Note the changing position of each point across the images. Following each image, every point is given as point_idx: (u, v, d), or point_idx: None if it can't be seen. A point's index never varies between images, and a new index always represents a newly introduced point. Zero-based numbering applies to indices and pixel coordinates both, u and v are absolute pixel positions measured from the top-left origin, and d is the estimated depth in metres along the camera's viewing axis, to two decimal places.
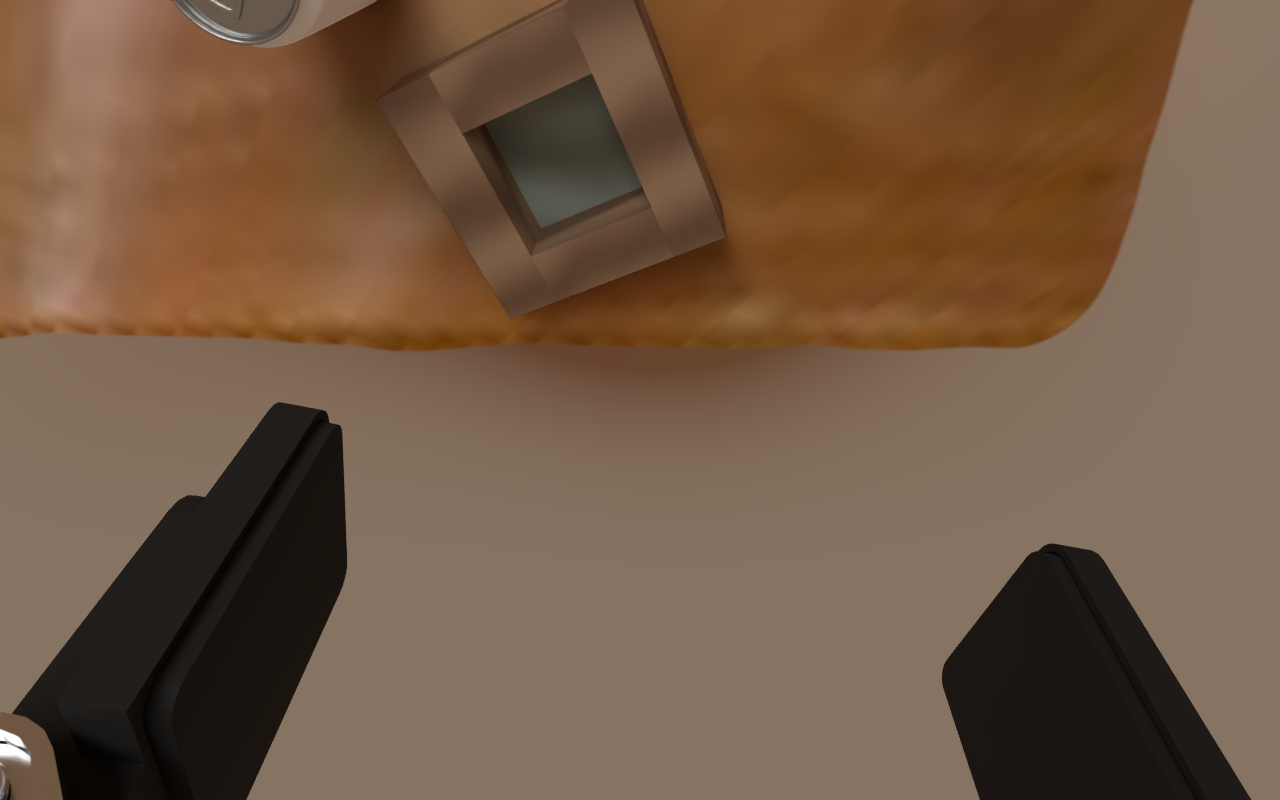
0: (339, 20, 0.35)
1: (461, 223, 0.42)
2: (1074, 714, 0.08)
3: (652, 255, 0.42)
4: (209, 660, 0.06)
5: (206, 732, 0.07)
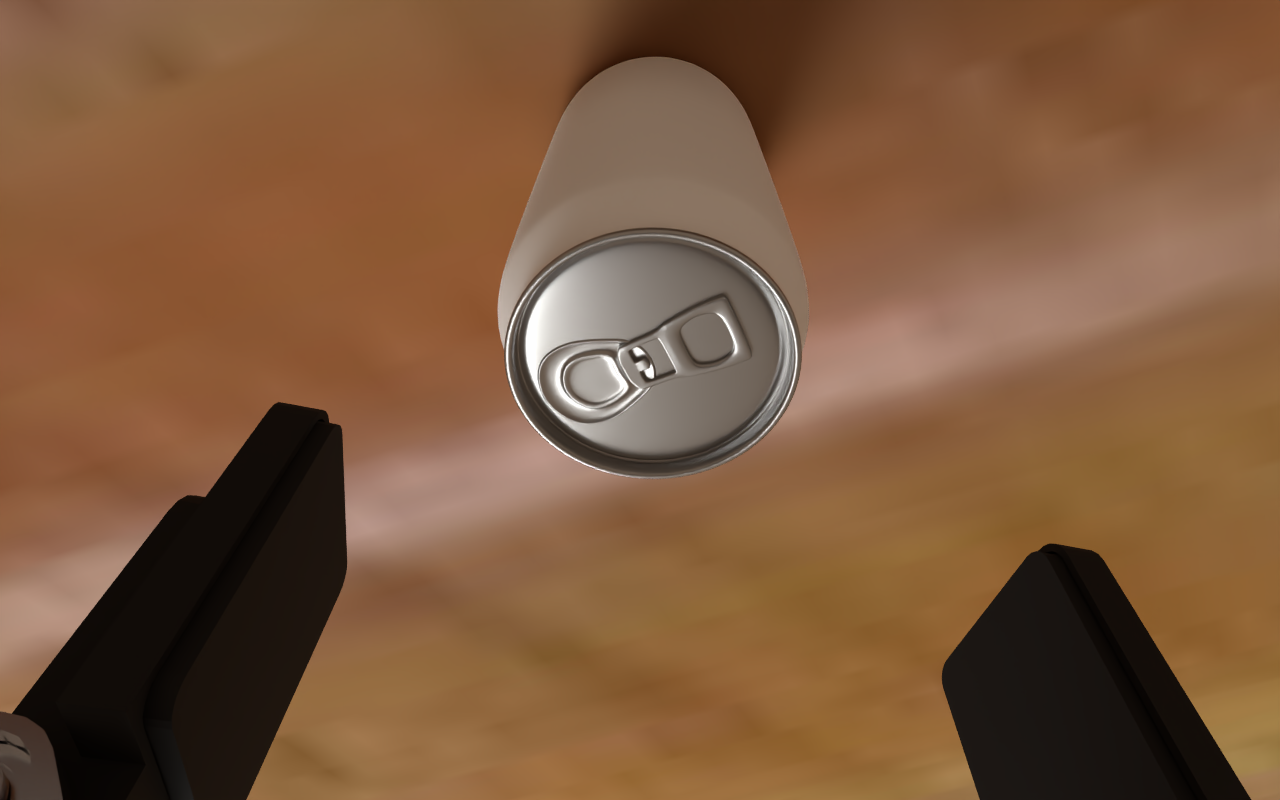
0: (679, 106, 0.17)
1: None
2: (1074, 714, 0.08)
3: None
4: (209, 660, 0.06)
5: (206, 732, 0.07)
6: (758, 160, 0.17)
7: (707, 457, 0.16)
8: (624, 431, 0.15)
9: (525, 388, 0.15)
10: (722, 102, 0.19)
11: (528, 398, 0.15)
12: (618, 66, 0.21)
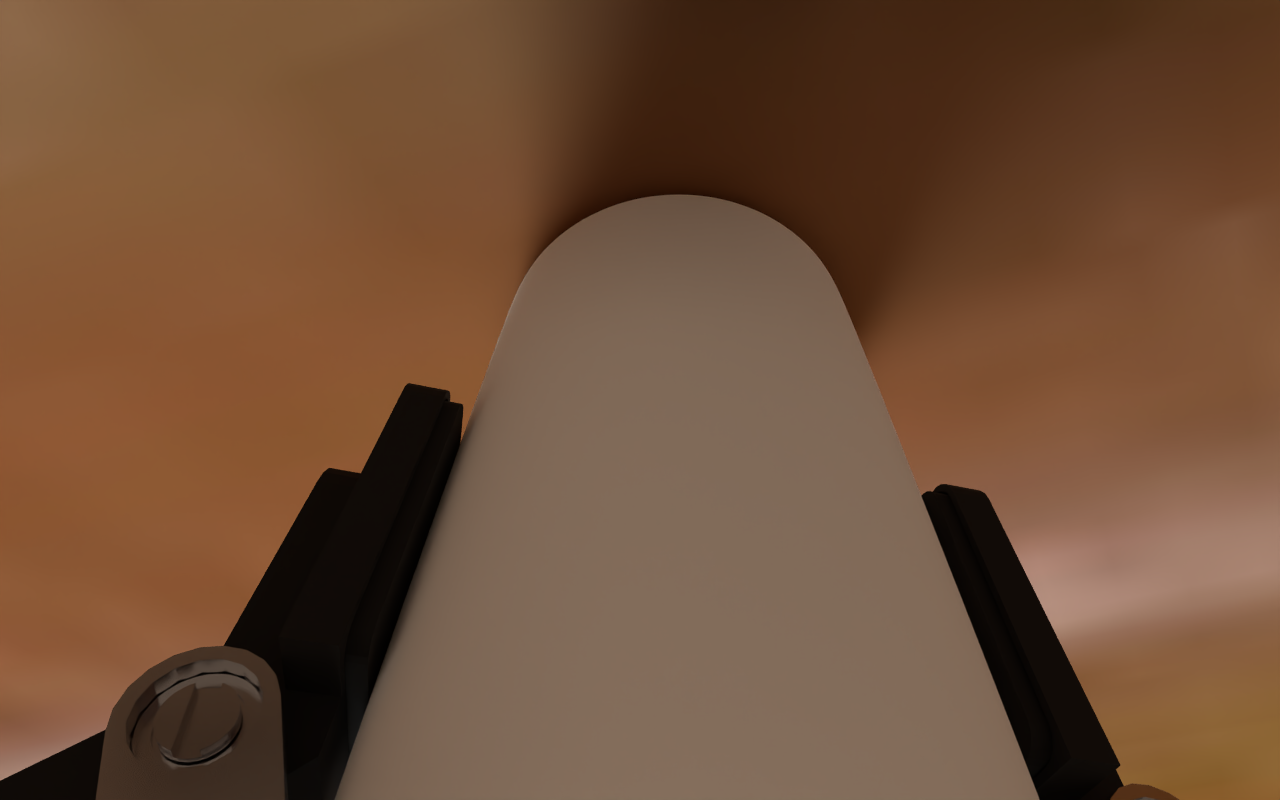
0: (740, 379, 0.08)
1: None
2: None
3: None
4: (387, 607, 0.07)
5: None
6: (911, 499, 0.08)
7: None
8: None
9: None
10: (813, 317, 0.10)
11: None
12: (614, 215, 0.12)
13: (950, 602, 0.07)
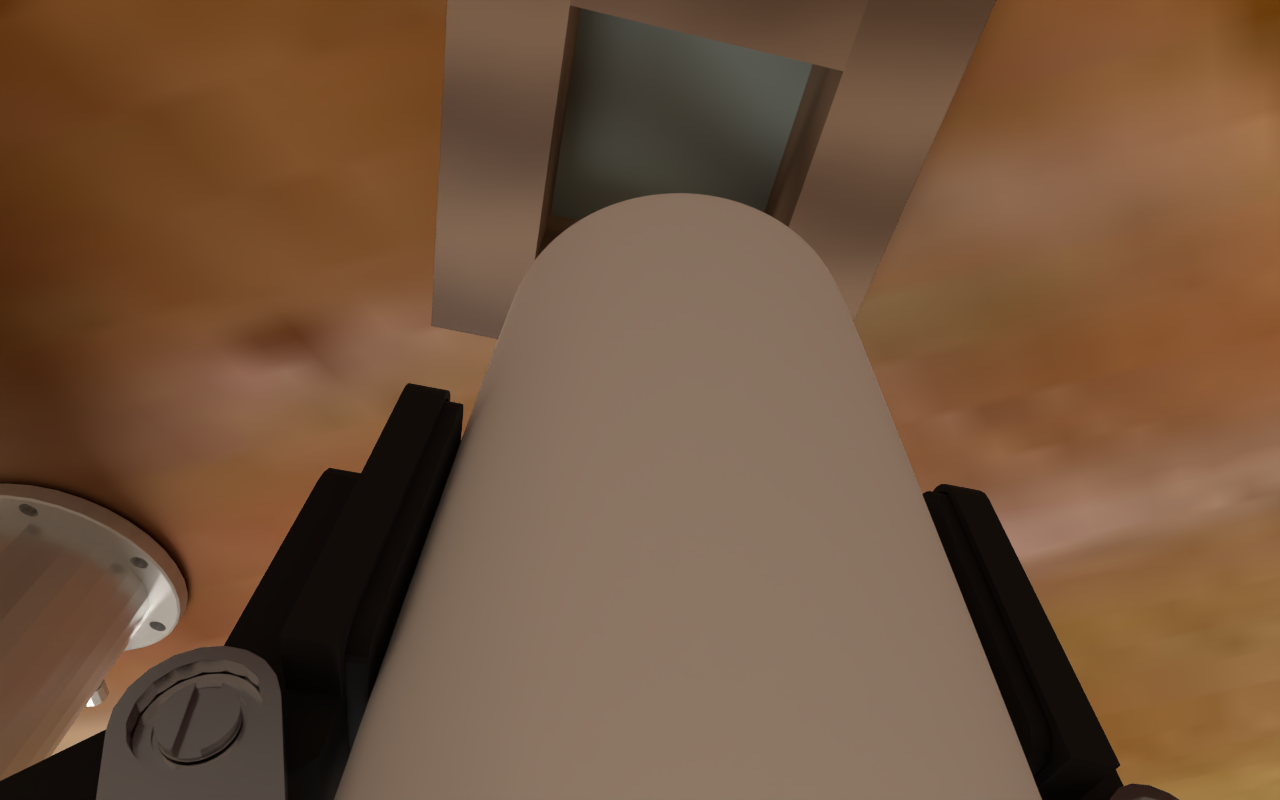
0: (740, 377, 0.08)
1: (887, 205, 0.22)
2: None
3: None
4: (388, 607, 0.07)
5: None
6: (912, 497, 0.08)
7: None
8: None
9: None
10: (814, 315, 0.10)
11: None
12: (615, 213, 0.12)
13: (951, 600, 0.07)
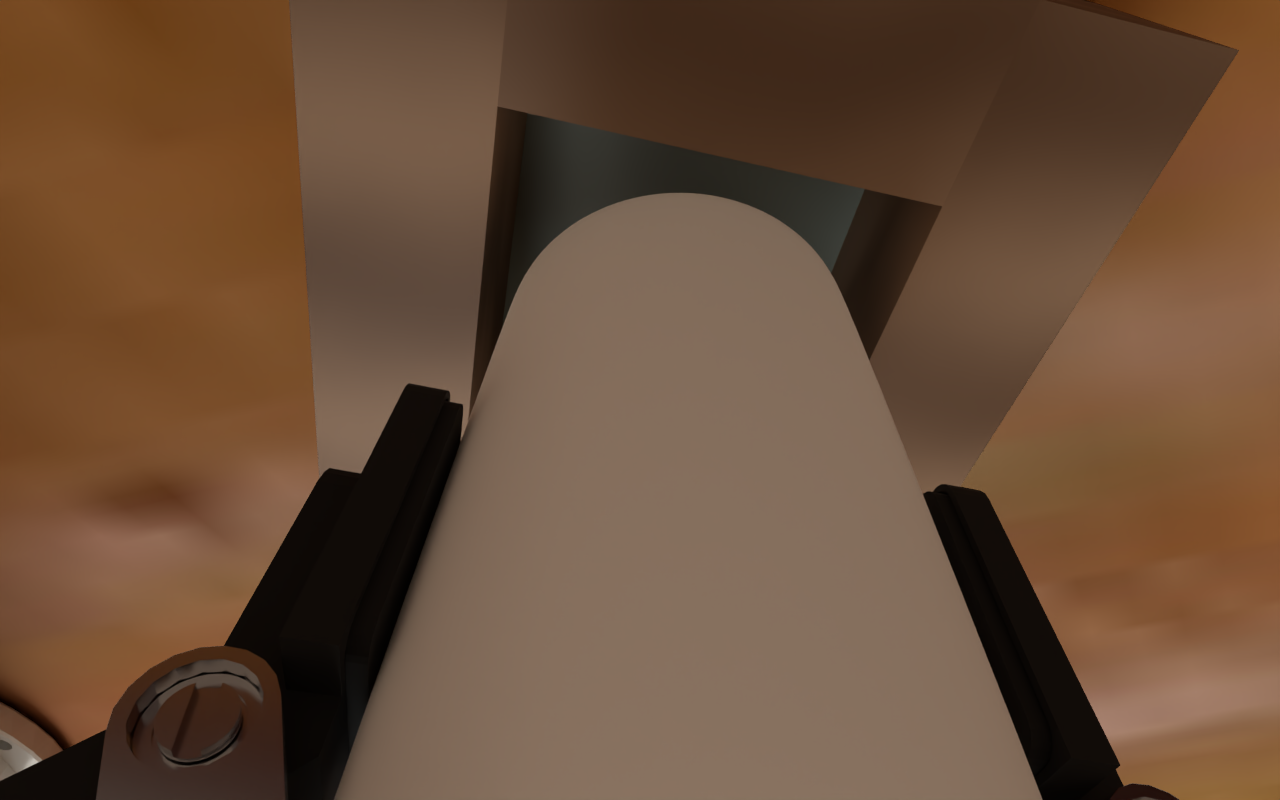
0: (741, 377, 0.08)
1: (994, 390, 0.15)
2: None
3: None
4: (387, 607, 0.07)
5: None
6: (913, 497, 0.08)
7: None
8: None
9: None
10: (814, 315, 0.10)
11: None
12: (615, 213, 0.12)
13: (952, 600, 0.07)
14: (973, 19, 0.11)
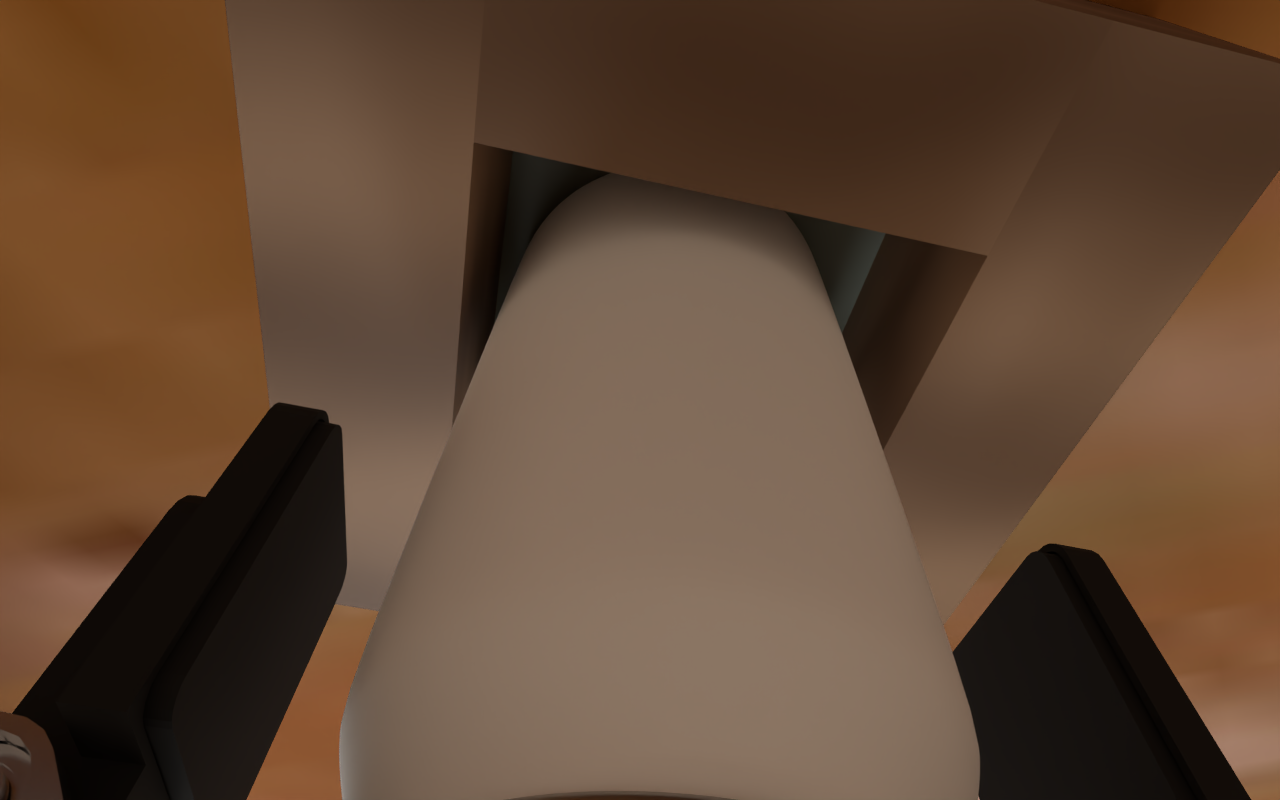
0: (710, 297, 0.09)
1: (1038, 454, 0.13)
2: (1074, 714, 0.08)
3: None
4: (209, 660, 0.06)
5: (206, 732, 0.07)
6: (852, 397, 0.09)
7: None
8: None
9: None
10: (779, 260, 0.11)
11: None
12: (611, 180, 0.14)
13: (875, 466, 0.08)
14: (1032, 44, 0.09)
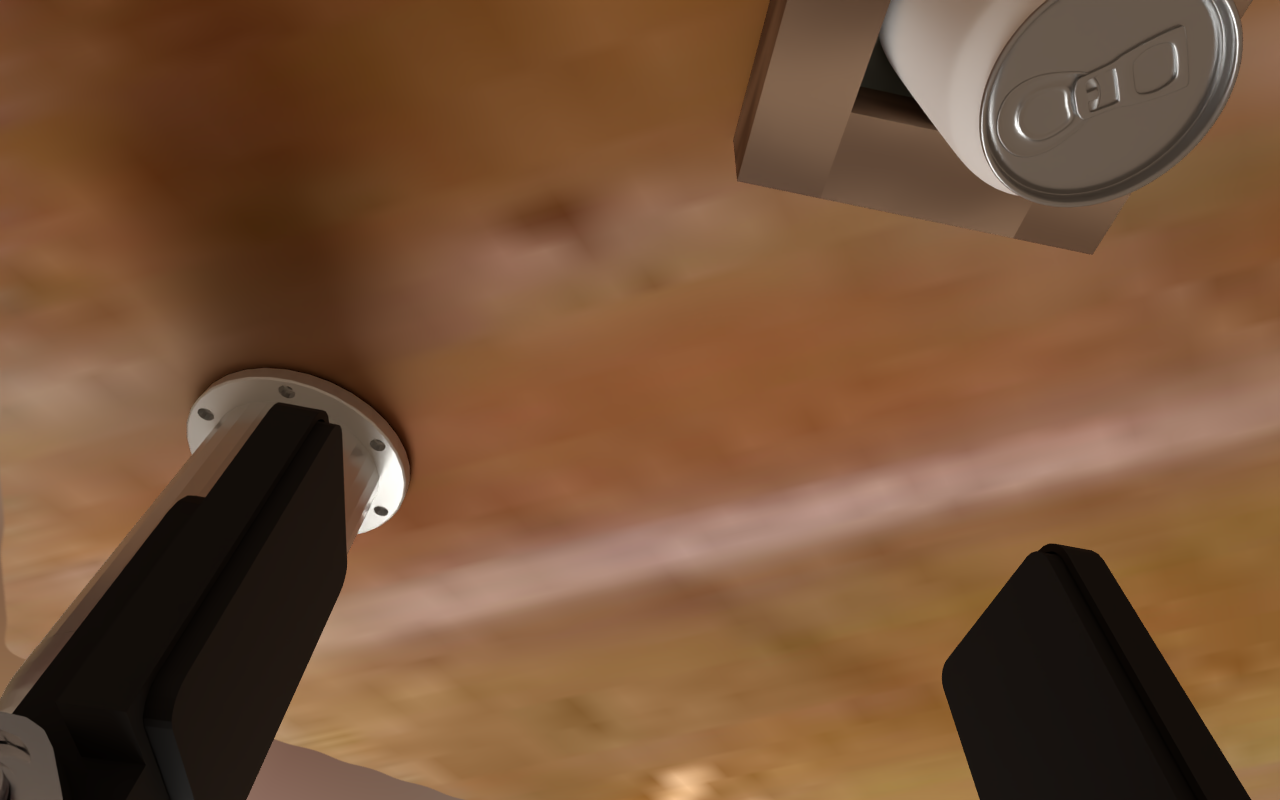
0: None
1: None
2: (1074, 714, 0.08)
3: None
4: (209, 660, 0.06)
5: (206, 732, 0.07)
6: None
7: (1115, 189, 0.19)
8: (1052, 164, 0.19)
9: None
10: None
11: None
12: None
13: None
14: None
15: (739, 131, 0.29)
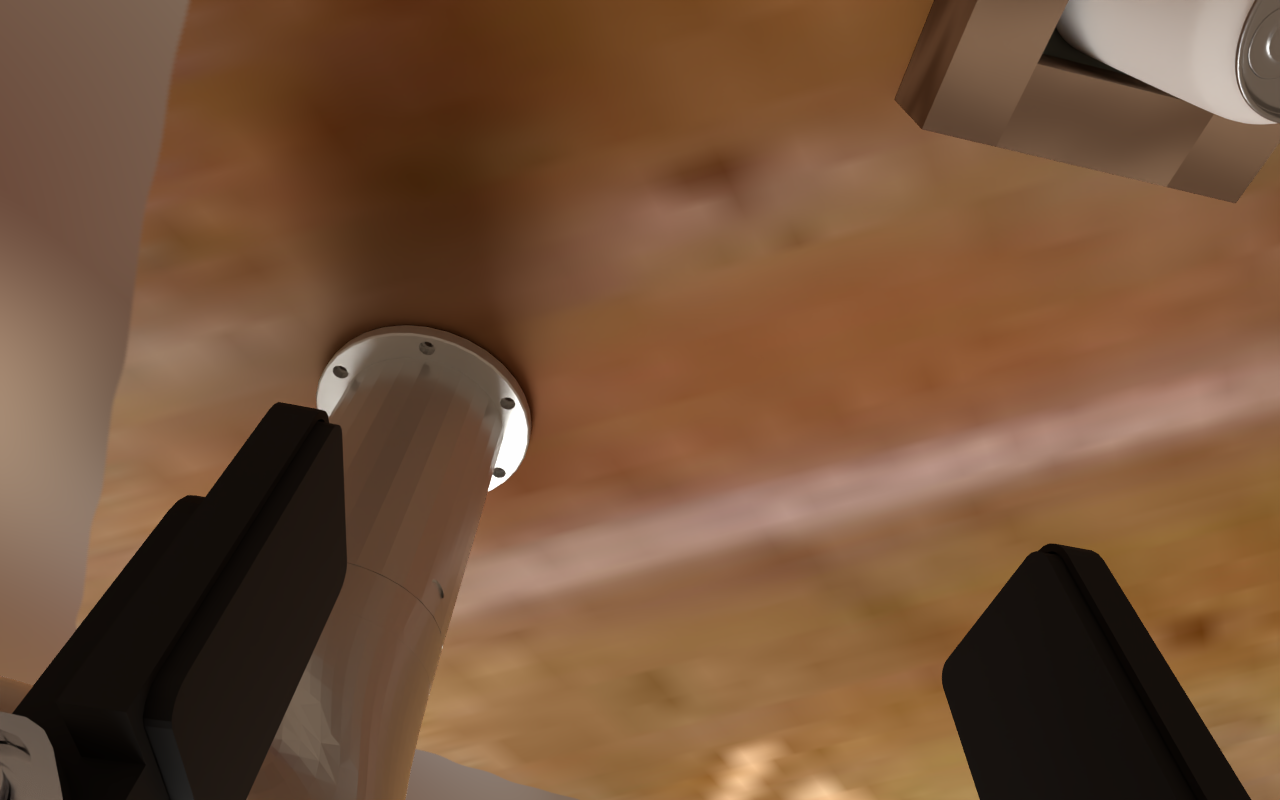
0: None
1: None
2: (1074, 714, 0.08)
3: None
4: (209, 660, 0.06)
5: (206, 732, 0.07)
6: None
7: None
8: None
9: None
10: None
11: None
12: None
13: None
14: None
15: (909, 88, 0.32)
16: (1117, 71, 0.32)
